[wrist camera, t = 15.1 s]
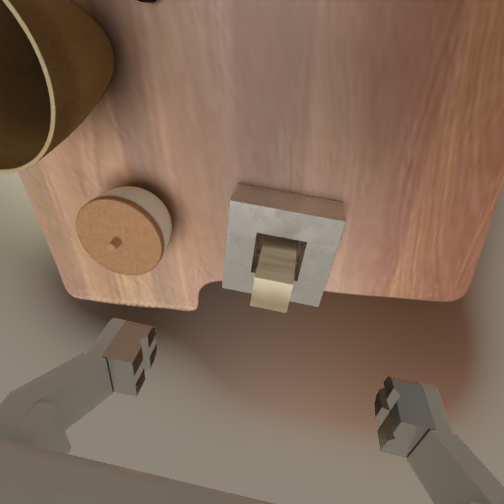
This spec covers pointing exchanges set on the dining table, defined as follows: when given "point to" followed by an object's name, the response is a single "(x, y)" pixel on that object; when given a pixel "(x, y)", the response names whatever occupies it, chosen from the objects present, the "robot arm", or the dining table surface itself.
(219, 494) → the robot arm
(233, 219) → the socket block
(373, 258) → the dining table surface
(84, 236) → the lidded jar
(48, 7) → the plant pot
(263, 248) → the ash peg
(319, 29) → the dining table surface
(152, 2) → the electric trimmer
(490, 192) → the dining table surface
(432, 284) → the dining table surface
